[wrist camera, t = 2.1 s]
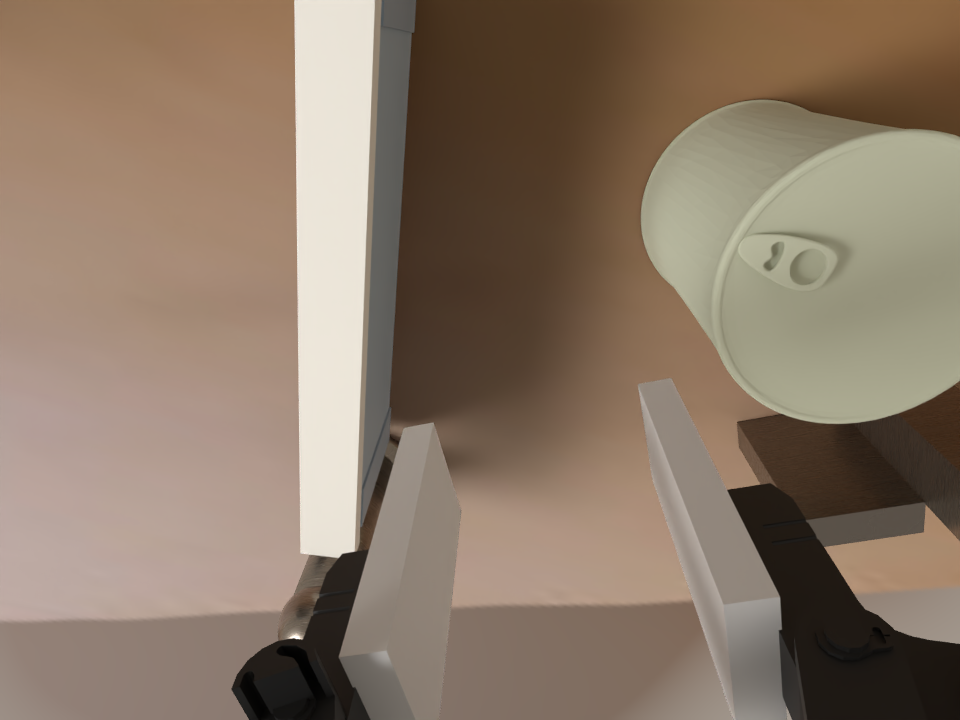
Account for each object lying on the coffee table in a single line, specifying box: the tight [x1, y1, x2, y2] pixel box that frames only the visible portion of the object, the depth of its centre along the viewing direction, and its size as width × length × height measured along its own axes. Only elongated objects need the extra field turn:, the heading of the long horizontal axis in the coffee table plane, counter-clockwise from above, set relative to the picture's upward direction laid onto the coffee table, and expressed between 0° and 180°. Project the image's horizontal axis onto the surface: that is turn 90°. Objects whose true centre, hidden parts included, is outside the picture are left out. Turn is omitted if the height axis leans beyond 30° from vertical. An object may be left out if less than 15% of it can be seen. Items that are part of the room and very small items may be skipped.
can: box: [641, 100, 960, 424], centre depth 24 cm, size 9×9×12 cm
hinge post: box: [277, 437, 399, 641], centre depth 30 cm, size 4×4×13 cm
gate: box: [295, 0, 416, 558], centre depth 25 cm, size 22×2×9 cm, turn 173°
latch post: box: [737, 385, 960, 547], centre depth 27 cm, size 5×8×13 cm, turn 103°
